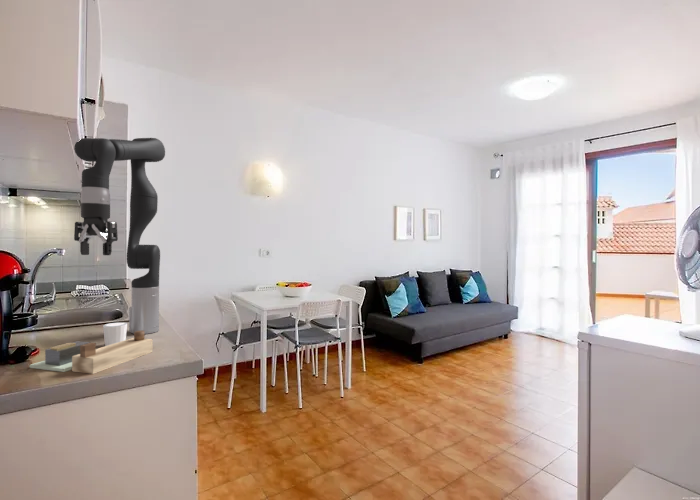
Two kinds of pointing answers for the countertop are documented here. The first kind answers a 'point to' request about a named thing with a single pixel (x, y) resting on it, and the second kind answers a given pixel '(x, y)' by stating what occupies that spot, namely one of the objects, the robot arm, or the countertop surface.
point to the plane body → (111, 354)
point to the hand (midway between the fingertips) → (95, 255)
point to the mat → (52, 366)
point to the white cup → (114, 332)
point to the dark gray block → (63, 353)
